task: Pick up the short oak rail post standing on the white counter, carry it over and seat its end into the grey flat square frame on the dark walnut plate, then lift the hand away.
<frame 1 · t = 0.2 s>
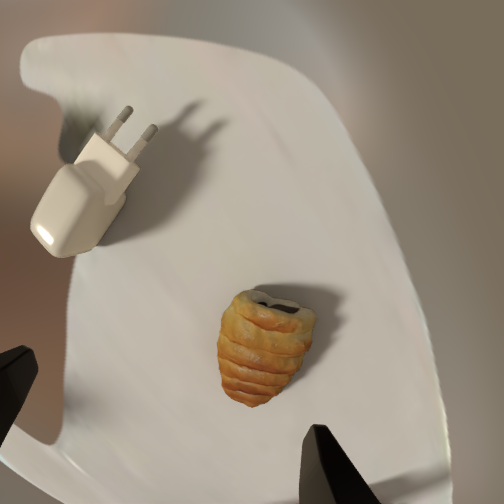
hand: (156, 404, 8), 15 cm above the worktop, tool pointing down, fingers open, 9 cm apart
power adapter: (116, 185, 23), on the worktop
pastry: (264, 339, 24), on the worktop
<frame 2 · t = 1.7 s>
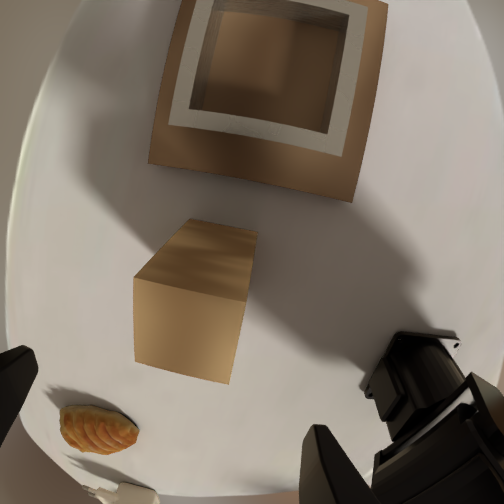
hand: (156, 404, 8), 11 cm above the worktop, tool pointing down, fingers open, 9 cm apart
power adapter: (125, 483, 32), on the worktop
bracket plate: (271, 72, 14), on the worktop
pastry: (100, 419, 26), on the worktop
rail post: (218, 257, 18), on the worktop
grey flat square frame: (271, 72, 14), resting on bracket plate
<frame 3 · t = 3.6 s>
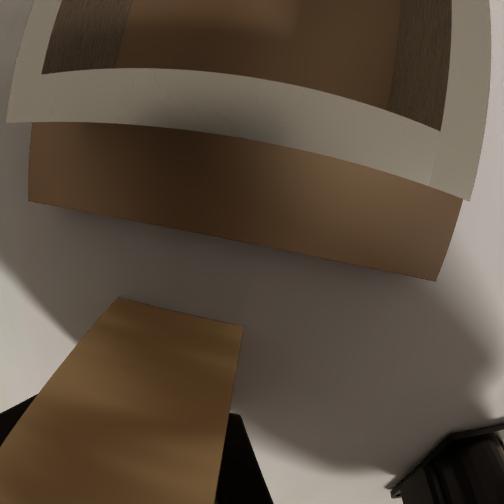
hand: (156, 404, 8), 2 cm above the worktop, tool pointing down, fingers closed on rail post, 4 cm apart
bracket plate: (268, 1, 6), on the worktop
rail post: (174, 360, 10), on the worktop, touching gripper
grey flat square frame: (268, 1, 6), resting on bracket plate
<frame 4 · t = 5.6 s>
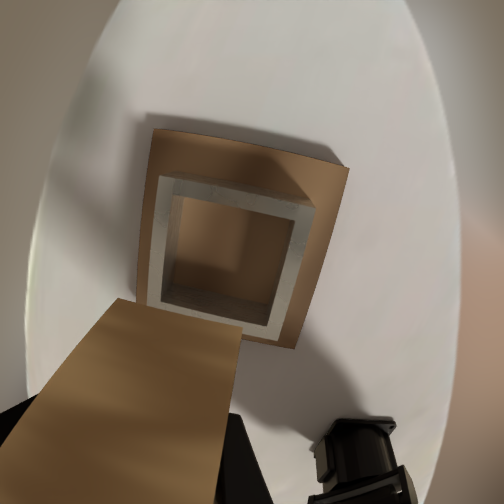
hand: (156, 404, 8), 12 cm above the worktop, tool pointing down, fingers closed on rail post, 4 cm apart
bracket plate: (231, 241, 19), on the worktop
rail post: (174, 361, 10), point 10 cm above the worktop, touching gripper
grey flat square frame: (231, 241, 19), resting on bracket plate
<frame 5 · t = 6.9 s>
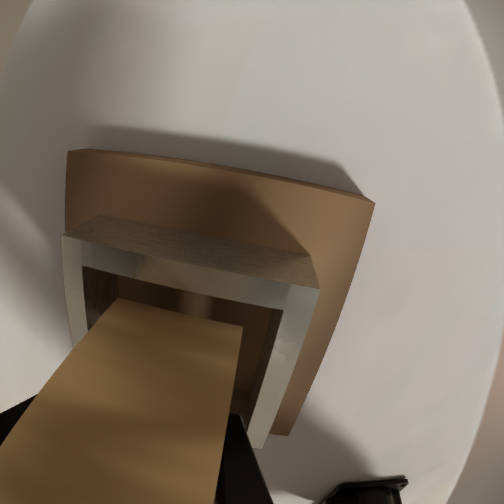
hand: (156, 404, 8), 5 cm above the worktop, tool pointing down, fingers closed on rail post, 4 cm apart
bracket plate: (194, 310, 13), on the worktop
rail post: (174, 361, 10), point 3 cm above the worktop, touching gripper
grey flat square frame: (194, 310, 13), resting on bracket plate
when the fingers open (4 cm above the worktop, at t = 7.8 s): rail post drops 1 cm, resting on bracket plate.
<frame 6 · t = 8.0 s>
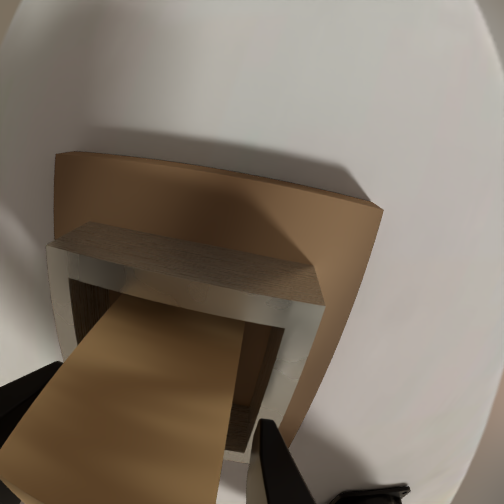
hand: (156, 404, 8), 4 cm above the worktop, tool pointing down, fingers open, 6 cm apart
bracket plate: (190, 321, 12), on the worktop
rail post: (184, 339, 11), point 1 cm above the worktop, touching bracket plate
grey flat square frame: (190, 321, 12), resting on bracket plate
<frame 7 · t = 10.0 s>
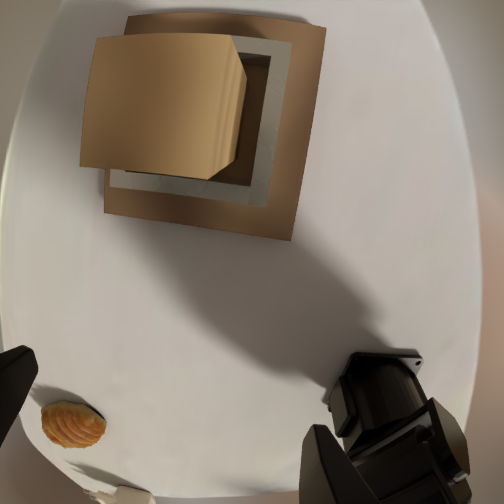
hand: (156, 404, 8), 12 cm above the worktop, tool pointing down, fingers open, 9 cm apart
power adapter: (123, 486, 34), on the worktop
bracket plate: (208, 117, 16), on the worktop
pastry: (76, 414, 27), on the worktop
rail post: (204, 116, 15), point 1 cm above the worktop, touching bracket plate
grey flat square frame: (208, 117, 16), resting on bracket plate
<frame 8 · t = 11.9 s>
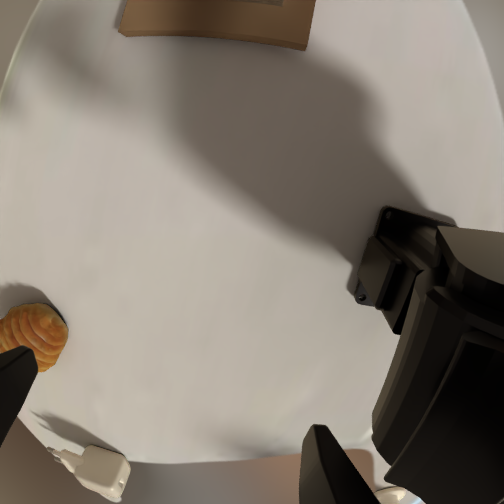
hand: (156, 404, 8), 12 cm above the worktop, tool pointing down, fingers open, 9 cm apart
power adapter: (93, 448, 30), on the worktop
pastry: (37, 328, 24), on the worktop
candle: (382, 495, 31), on the worktop
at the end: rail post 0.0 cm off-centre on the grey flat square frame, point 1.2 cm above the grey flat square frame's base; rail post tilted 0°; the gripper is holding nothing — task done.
